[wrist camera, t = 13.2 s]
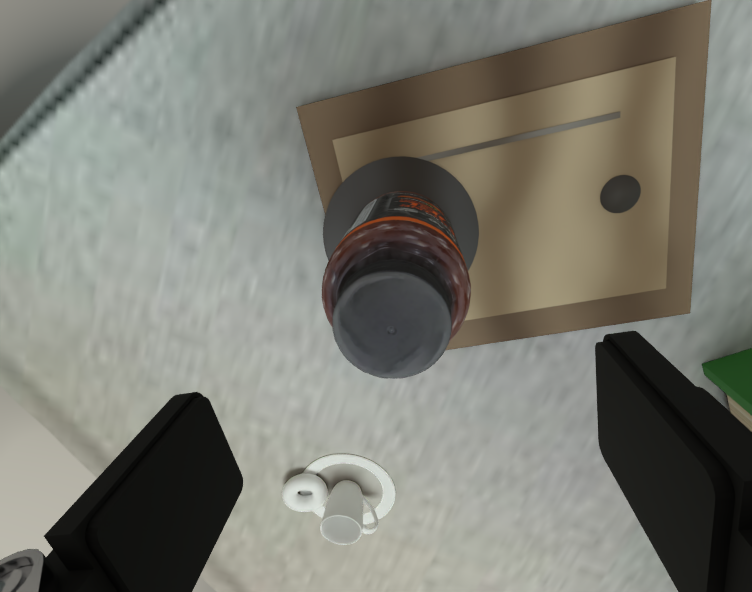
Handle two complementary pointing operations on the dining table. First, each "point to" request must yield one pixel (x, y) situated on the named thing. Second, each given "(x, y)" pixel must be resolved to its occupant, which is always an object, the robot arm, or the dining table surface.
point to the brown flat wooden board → (541, 171)
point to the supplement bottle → (396, 286)
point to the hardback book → (734, 382)
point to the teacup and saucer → (339, 499)
